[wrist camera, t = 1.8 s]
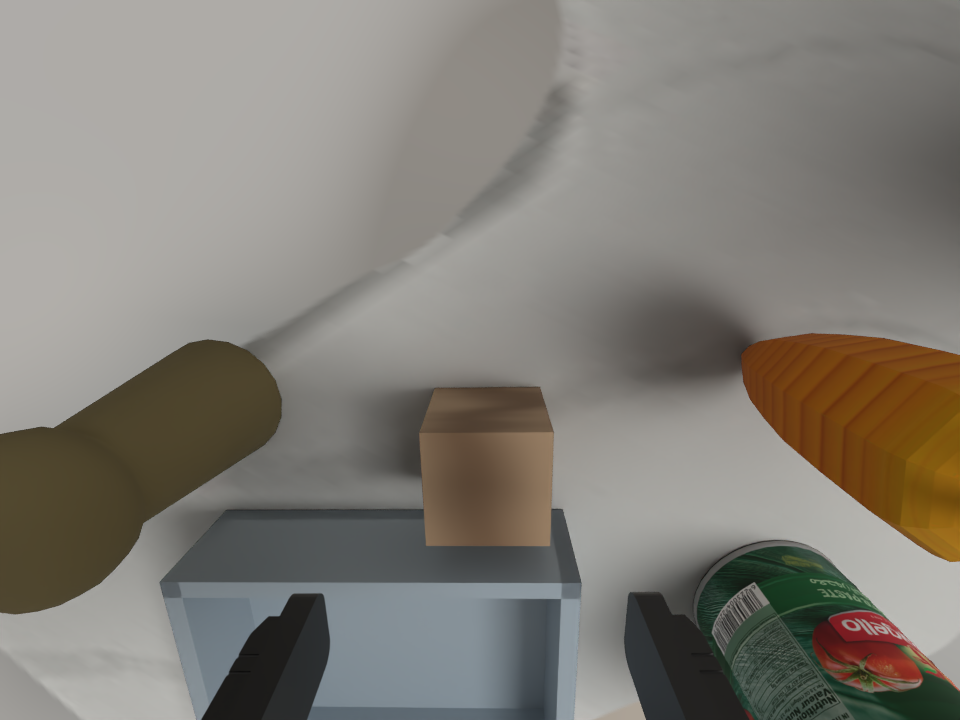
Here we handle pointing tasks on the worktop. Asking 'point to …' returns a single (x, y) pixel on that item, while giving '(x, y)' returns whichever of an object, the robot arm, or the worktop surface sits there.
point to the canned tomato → (812, 642)
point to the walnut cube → (487, 467)
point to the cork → (123, 468)
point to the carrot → (870, 424)
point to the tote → (387, 614)
